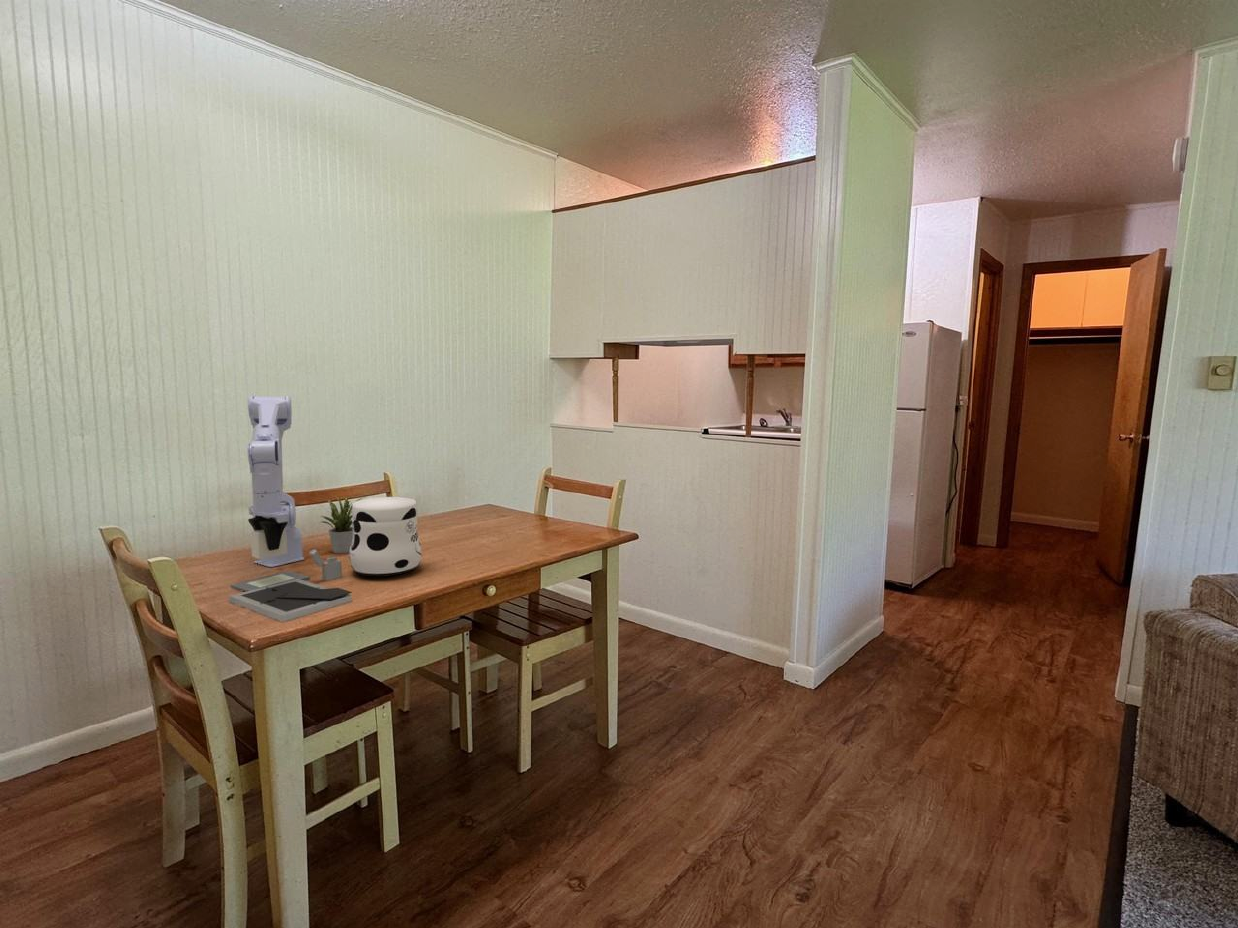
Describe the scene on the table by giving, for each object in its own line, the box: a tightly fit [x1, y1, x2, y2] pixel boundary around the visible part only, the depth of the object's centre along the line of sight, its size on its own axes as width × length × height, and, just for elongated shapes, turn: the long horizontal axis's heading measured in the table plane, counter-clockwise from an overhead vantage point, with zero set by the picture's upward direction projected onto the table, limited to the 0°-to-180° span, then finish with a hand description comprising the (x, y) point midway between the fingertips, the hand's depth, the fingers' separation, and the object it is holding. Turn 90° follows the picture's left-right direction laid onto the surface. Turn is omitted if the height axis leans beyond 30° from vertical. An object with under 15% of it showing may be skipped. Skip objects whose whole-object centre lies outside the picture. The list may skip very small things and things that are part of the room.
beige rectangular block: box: [250, 529, 287, 560], centre depth 155 cm, size 4×6×6 cm, turn 144°
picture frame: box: [228, 579, 353, 623], centre depth 144 cm, size 16×3×21 cm
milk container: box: [348, 496, 422, 578], centre depth 166 cm, size 17×17×18 cm
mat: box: [230, 570, 311, 592], centre depth 156 cm, size 14×9×1 cm, turn 148°
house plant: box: [317, 495, 367, 554], centre depth 185 cm, size 14×14×16 cm
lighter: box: [308, 548, 343, 582], centre depth 159 cm, size 7×2×8 cm, turn 138°
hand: (269, 548), depth 155 cm, fingers closed on beige rectangular block, 3 cm apart
